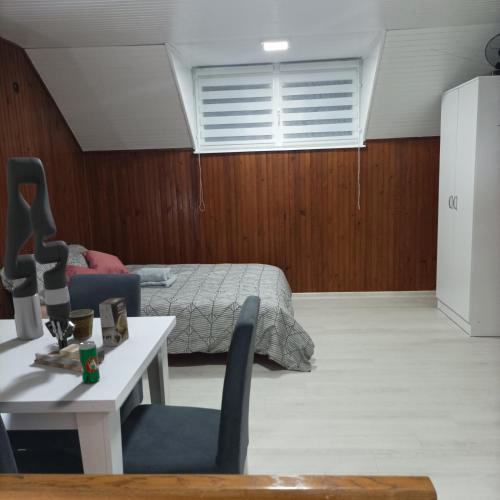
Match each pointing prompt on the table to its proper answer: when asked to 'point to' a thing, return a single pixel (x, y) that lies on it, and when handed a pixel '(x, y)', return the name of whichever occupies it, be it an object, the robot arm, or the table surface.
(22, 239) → the robot arm
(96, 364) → the soda can
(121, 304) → the coffee box
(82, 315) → the ceramic cup
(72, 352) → the birch block
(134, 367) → the table surface
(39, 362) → the shallow wooden tray
